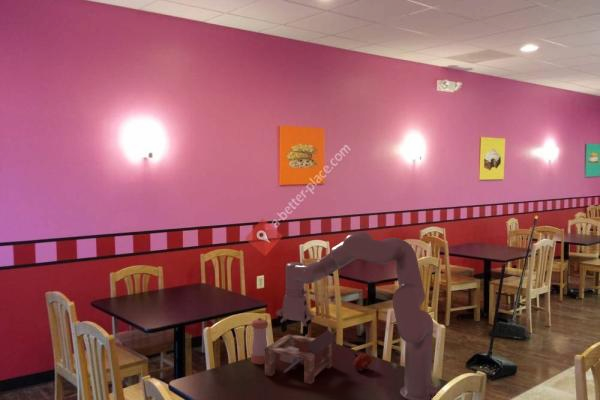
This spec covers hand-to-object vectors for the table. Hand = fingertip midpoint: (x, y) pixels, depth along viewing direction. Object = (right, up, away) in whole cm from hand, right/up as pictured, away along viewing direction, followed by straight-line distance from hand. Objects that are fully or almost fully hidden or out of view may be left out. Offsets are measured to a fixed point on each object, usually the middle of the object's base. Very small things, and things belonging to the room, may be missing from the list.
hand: (294, 333), depth 221 cm
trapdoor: (+7, -10, -3) cm, 12 cm away
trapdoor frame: (+2, -16, 0) cm, 16 cm away
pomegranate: (+29, -16, 0) cm, 33 cm away
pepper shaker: (-15, -15, +11) cm, 24 cm away
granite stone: (+1, -10, 0) cm, 10 cm away
